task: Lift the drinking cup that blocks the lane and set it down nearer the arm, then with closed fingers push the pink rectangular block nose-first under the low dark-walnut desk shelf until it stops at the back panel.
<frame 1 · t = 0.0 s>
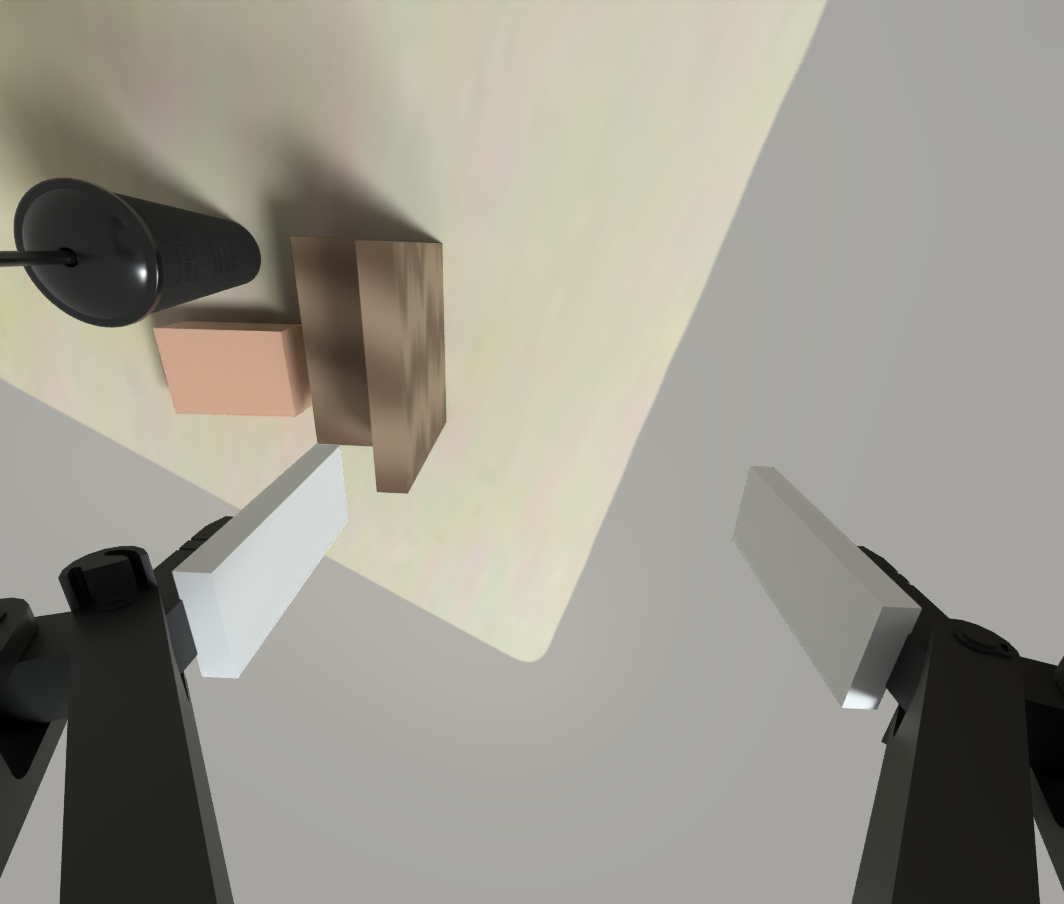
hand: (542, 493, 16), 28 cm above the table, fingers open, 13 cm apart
desk shelf: (385, 335, 42), on the table
pink rectangular block: (253, 362, 43), on the table
drinking cup: (232, 253, 40), on the table
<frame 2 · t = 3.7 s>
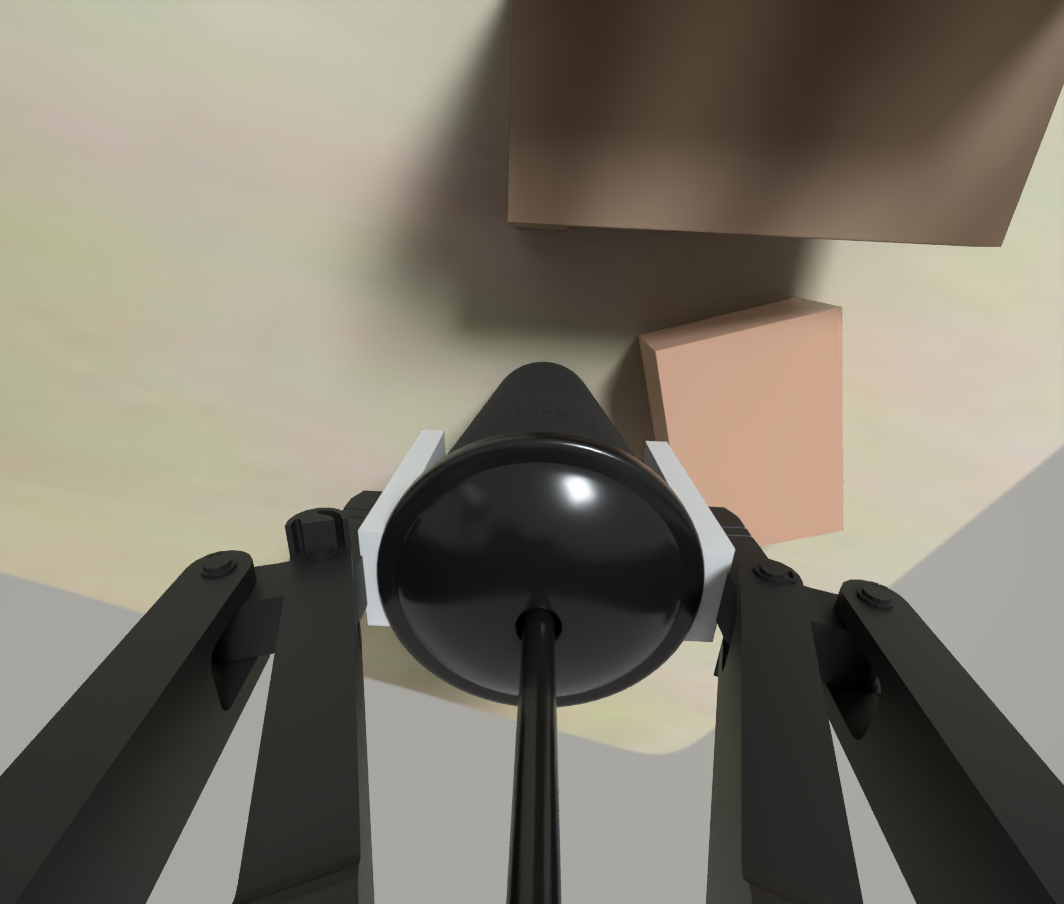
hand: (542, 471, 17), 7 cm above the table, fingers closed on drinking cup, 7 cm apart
desk shelf: (711, 126, 19), on the table
pink rectangular block: (723, 416, 24), on the table
drinking cup: (542, 408, 24), on the table, touching gripper
when the fingers open (9 cm above the table, at t = 8.7 s): drinking cup drops 1 cm, on the table.
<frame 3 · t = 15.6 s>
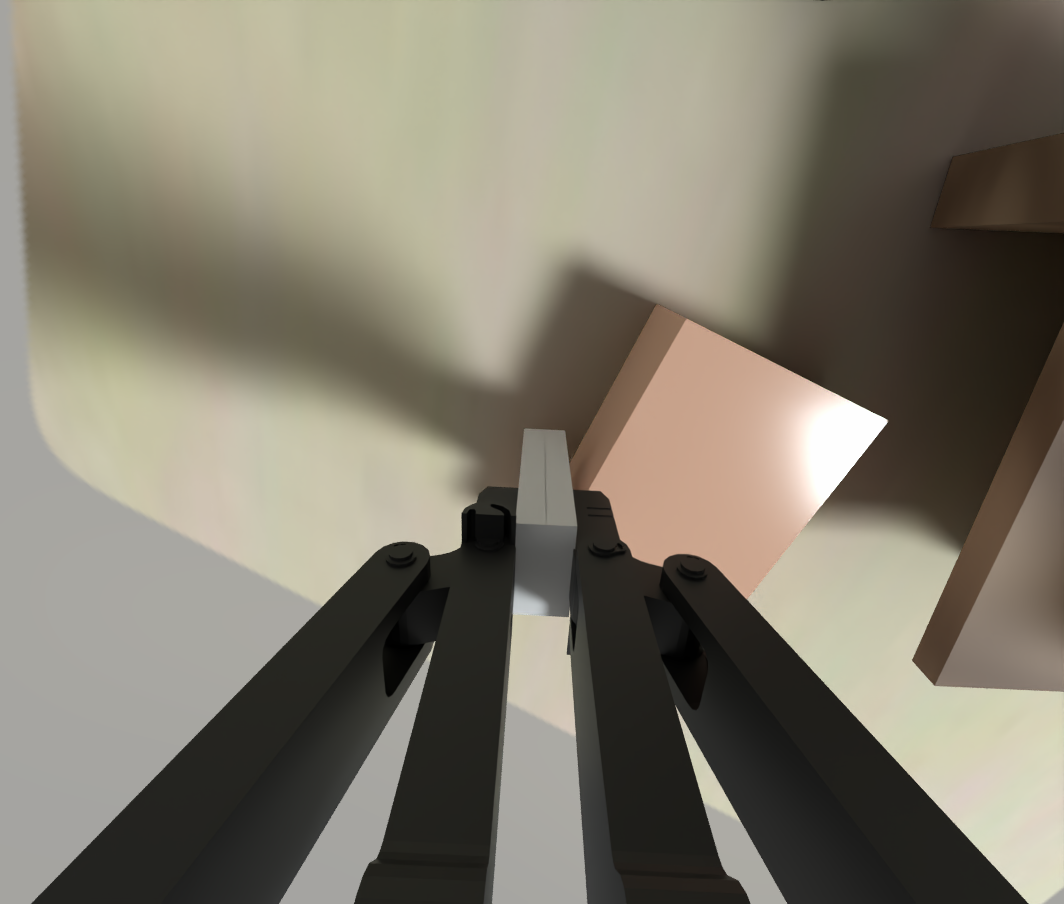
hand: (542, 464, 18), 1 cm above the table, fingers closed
desk shelf: (985, 395, 18), on the table
pink rectangular block: (667, 459, 20), on the table, touching gripper
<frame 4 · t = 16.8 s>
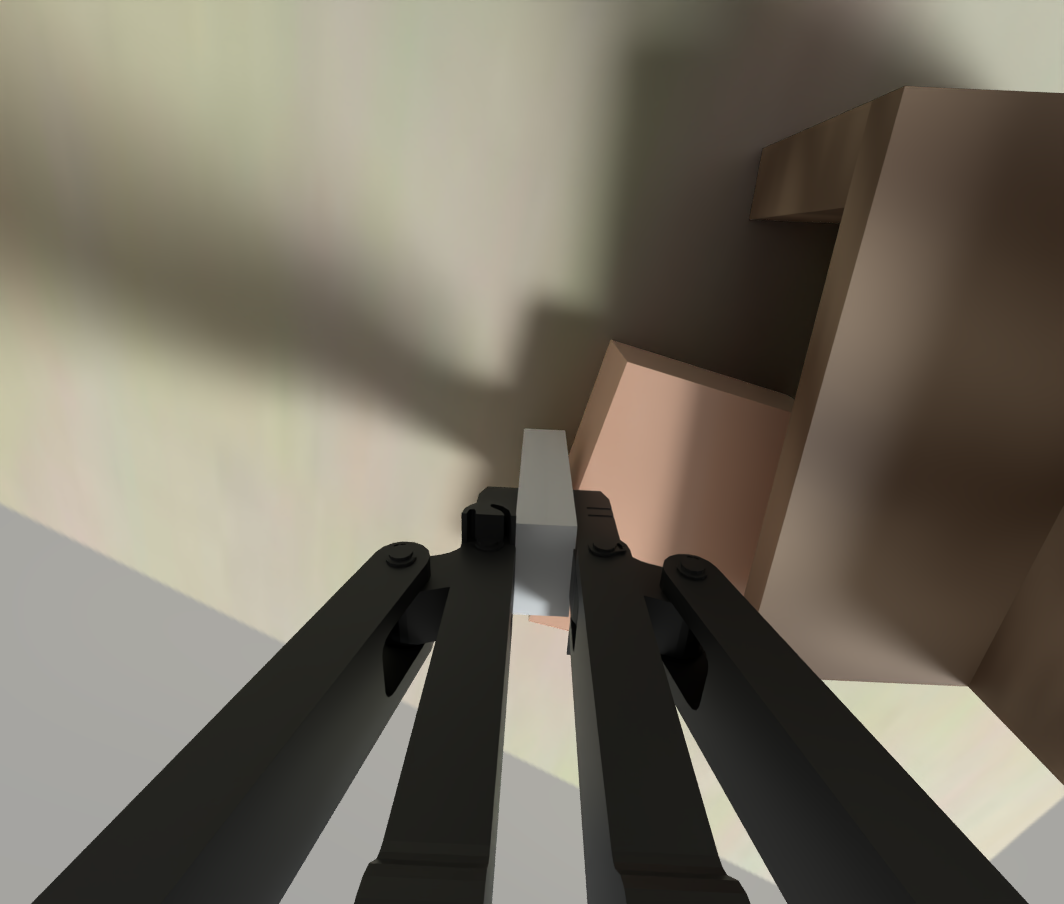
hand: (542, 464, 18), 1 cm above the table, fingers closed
desk shelf: (825, 388, 18), on the table
pink rectangular block: (647, 481, 20), on the table, touching gripper
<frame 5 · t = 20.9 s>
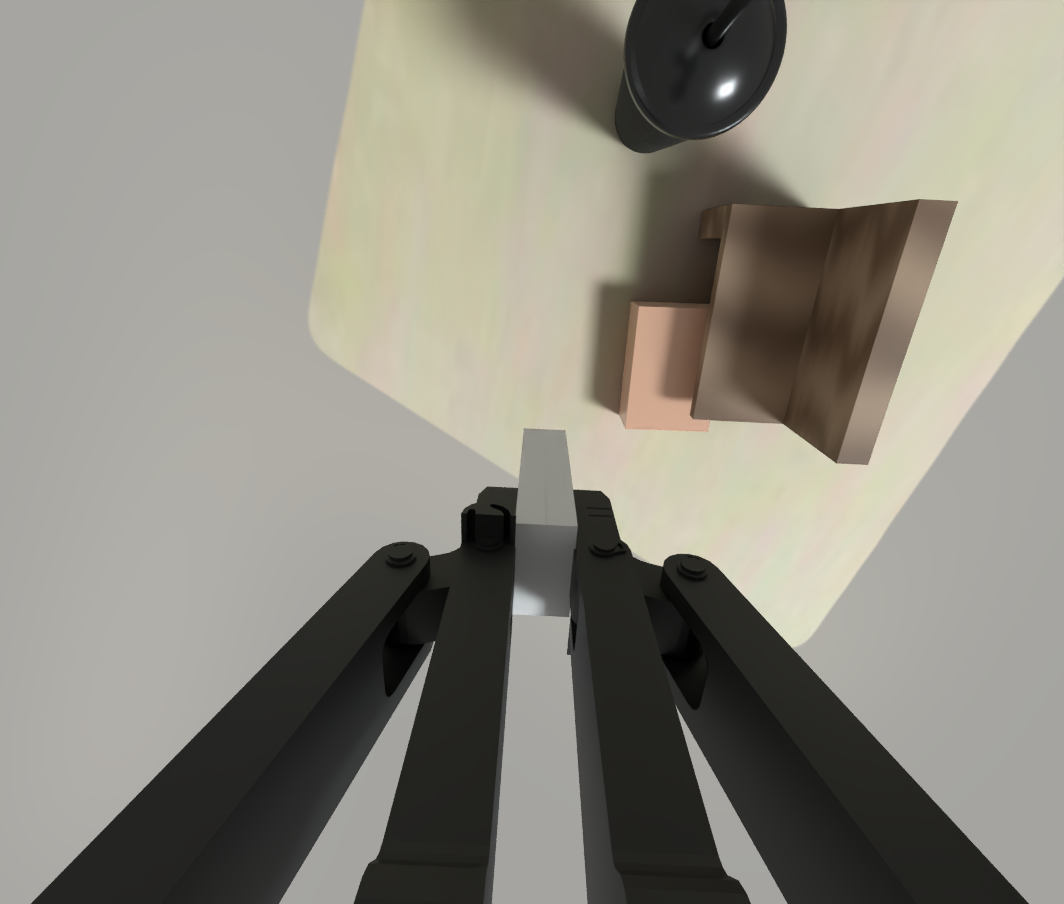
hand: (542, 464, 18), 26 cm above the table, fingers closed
desk shelf: (734, 311, 41), on the table
pink rectangular block: (663, 361, 43), on the table
drinking cup: (647, 115, 36), on the table
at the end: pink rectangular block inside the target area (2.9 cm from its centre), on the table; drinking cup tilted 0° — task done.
